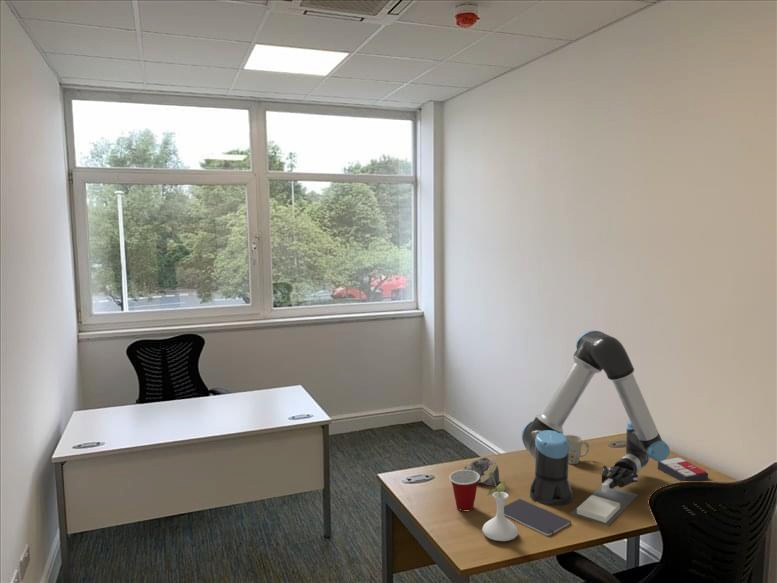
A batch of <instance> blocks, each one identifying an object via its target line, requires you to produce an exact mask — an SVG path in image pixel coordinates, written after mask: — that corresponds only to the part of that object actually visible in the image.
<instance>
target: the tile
mask: <svg viewBox="0 0 777 583" xmlns="http://www.w3.org/2000/svg"><path fill="white" fill-rule="evenodd" d="M589 496H590V497H589ZM589 496H588V497H589V498H588V497H587V498H588V499H587V498H586V499H587V500H586V499H585V500H586V501H585V500H584V501H582V503H580V504H581V505H580V504H579V505H580V506H579V505H578V506H579V507H578V506H577V507H578V508H577V507H576V508H577V514H579V515H582V516H585V517H588V518H591V519H594V520H597V521H600V522H603V523H606V522H607V521H608V520H609V519H610V518H611V517H612V516H613V515H614V514H615V513H616V512H617V511H618V510H619V509H620V503H618V502H614V501H611V500H608V499H604V498H601V497H598V496H594V495H592V494H590V495H589Z"/></svg>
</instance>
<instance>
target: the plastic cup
mask: <svg viewBox="0 0 777 583" xmlns="http://www.w3.org/2000/svg"><path fill="white" fill-rule="evenodd" d="M448 478H449V480H450V482H451V485H452V490H453V495H454V499H455V504H456V505H455V506H456V508H457V510H459V509H461V510H471V509H472V508H473V509H474V505H475V504H474V503H475V500H476V495H477V489H478V488H477V487H478V484H479V483H478V481H479V478H480V475H479V474H478V473H477V472H475V471H471V470H465V469H461V470H455V471H452V472H451V474H449V477H448ZM473 509H472V510H473ZM461 510H460V511H461ZM472 510H471V511H472Z"/></svg>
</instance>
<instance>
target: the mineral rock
mask: <svg viewBox="0 0 777 583" xmlns="http://www.w3.org/2000/svg"><path fill="white" fill-rule="evenodd" d="M494 462H495V464H496V463H497V462H496V461H494V460H490V459H489V458H487V457H482V458H481V457H480V458H479V459H477V460H474V461H471V463H470V464H469V465H465V466H464V469H463V470H471V471H475V472H477V473H478V474H479V475H480V478H481V477H482V476H483V475H485V474H484V472H485V471H487V470H488V468H489V466H490V465H493V463H494ZM492 475H493V478H494V480H495V483H496V485H497V483H498V484H499V482H500V471H499V466H498V465H497V467H496V469H495V471H494V472H493V474H492ZM480 478H479V481H478V484H479V483H481V484H483V485H487V486H491V485H492V486H495V483H494V480H493V478H492V476H490V477H489V478H488V479H487V480H486V481H484V482H480V481H481V479H480Z"/></svg>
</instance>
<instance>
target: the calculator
mask: <svg viewBox="0 0 777 583" xmlns="http://www.w3.org/2000/svg"><path fill="white" fill-rule="evenodd" d="M657 470H659V471H660V472H662V473H664V474H667V475H669V476H671V477H673V478H674V479H675V480H678V481H680V482H681V481H699V482H704V481H708V479H709V473H708V472H707V471H706V470H705V469H702V468H700V467H698V466H696V465H695V464H693V463H691V462H689V461H686V460H685V459H683V458H681V457H674V458H669V459H668V458H667V459H665V460H663V461H657Z"/></svg>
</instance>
